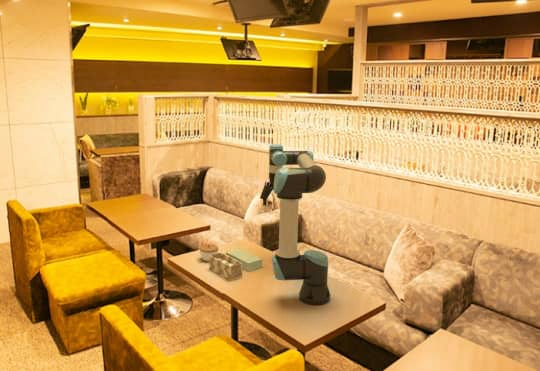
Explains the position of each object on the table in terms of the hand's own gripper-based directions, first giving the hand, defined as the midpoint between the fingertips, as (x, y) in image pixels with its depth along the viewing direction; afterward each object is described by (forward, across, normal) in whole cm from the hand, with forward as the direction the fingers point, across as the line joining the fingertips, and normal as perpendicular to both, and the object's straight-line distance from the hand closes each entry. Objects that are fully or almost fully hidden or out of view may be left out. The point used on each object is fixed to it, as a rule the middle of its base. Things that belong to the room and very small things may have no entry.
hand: (274, 208), depth 263 cm
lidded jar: (+32, +29, -25) cm, 50 cm away
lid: (+32, +16, -8) cm, 36 cm away
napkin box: (+32, +32, -3) cm, 45 cm away
